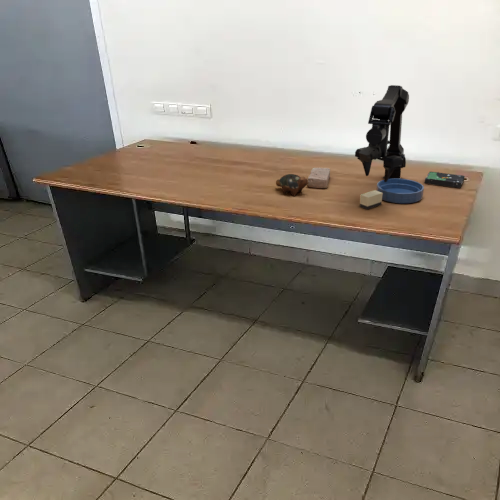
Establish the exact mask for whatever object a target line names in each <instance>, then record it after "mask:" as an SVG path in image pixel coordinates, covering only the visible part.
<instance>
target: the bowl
mask: <svg viewBox="0 0 500 500" xmlns="http://www.w3.org/2000/svg"><path fill="white" fill-rule="evenodd" d="M375 189H376V191H379V192H381V193H383V195H382V201H385V202H388V203H391V204H399V205H400V204H401V205H407V204H413V203H417V202H419V201H421V200H422V199H423V197H424V190H425V186H424V185H423V184H422V183H421V182H418V181H416V180H412V179H408V178H401V179H399V178H392V179H388V181H387V182H384V179H382V180H379V181H378V182H377V183H376V188H375Z"/></svg>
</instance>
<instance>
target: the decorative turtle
mask: <svg viewBox="0 0 500 500" xmlns="http://www.w3.org/2000/svg"><path fill="white" fill-rule="evenodd" d="M275 185H276V186H277V187H279V188H281V189H282V193H283V194H288V193H290V194H291V196H293V197H295V196H296V195H297V194H298V193H302V191H303V189H305V188H306V187H307V186H308V178H306V177H305V176H300V175H298V174H294V173H288V174H285V175H283V176H281V177H280V178H279V179H277V180H275Z"/></svg>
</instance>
